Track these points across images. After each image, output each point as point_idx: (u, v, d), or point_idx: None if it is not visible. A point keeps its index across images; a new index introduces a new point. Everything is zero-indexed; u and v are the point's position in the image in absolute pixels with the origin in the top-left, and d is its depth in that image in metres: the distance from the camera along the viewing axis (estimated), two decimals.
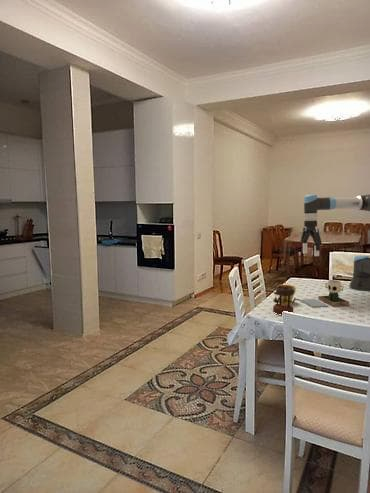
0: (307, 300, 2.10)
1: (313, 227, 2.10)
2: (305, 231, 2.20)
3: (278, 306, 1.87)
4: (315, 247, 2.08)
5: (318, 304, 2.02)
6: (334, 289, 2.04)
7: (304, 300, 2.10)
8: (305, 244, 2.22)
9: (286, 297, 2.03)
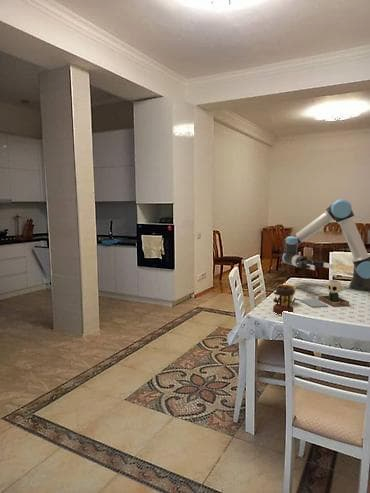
0: (307, 300, 2.10)
1: None
2: None
3: (278, 306, 1.87)
4: (307, 268, 2.17)
5: (318, 304, 2.02)
6: (334, 289, 2.04)
7: (304, 300, 2.10)
8: (324, 264, 2.22)
9: (286, 297, 2.03)
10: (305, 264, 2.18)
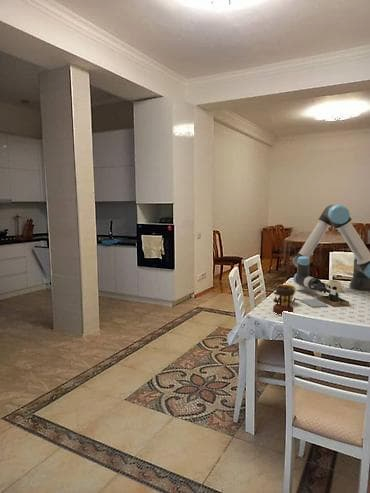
0: (307, 300, 2.10)
1: None
2: None
3: (278, 306, 1.87)
4: (327, 292, 2.06)
5: (318, 304, 2.02)
6: (334, 289, 2.04)
7: (304, 300, 2.10)
8: None
9: (286, 297, 2.03)
10: (325, 288, 2.07)
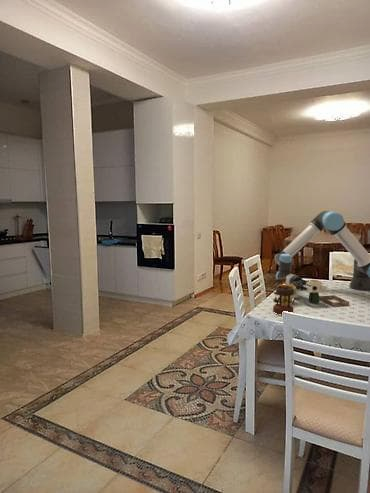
0: (307, 300, 2.10)
1: None
2: None
3: (278, 306, 1.87)
4: (304, 289, 2.03)
5: (318, 304, 2.02)
6: (314, 289, 2.02)
7: (304, 300, 2.10)
8: None
9: (286, 297, 2.03)
10: (302, 285, 2.04)
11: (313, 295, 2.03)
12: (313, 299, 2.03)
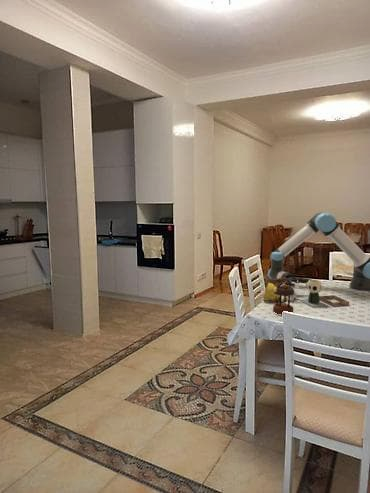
0: (307, 300, 2.10)
1: None
2: None
3: (278, 306, 1.87)
4: (292, 286, 2.11)
5: (318, 304, 2.02)
6: (314, 289, 2.02)
7: (304, 300, 2.10)
8: None
9: None
10: (290, 282, 2.12)
11: (313, 295, 2.03)
12: (313, 299, 2.03)
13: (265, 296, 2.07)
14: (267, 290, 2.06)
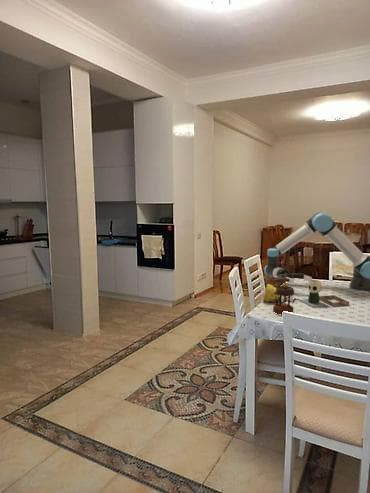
0: (307, 300, 2.10)
1: None
2: None
3: (278, 306, 1.87)
4: None
5: (318, 304, 2.02)
6: (314, 289, 2.02)
7: (304, 300, 2.10)
8: (304, 277, 2.21)
9: (273, 297, 2.04)
10: (285, 277, 2.17)
11: (313, 295, 2.03)
12: (313, 299, 2.03)
13: (264, 300, 2.06)
14: (266, 295, 2.04)
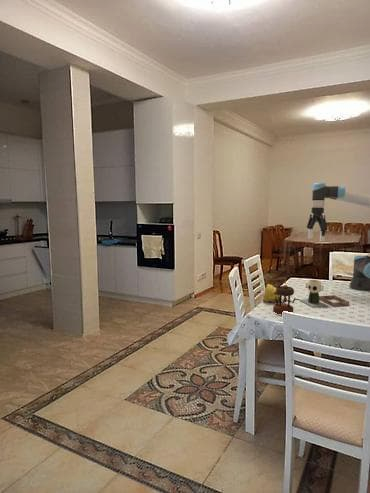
0: (307, 300, 2.10)
1: (320, 214, 2.22)
2: None
3: (278, 306, 1.87)
4: (321, 232, 2.20)
5: (318, 304, 2.02)
6: (314, 289, 2.02)
7: (304, 300, 2.10)
8: (311, 230, 2.34)
9: (273, 297, 2.04)
10: (325, 230, 2.20)
11: (313, 295, 2.03)
12: (313, 299, 2.03)
13: (264, 300, 2.06)
14: (266, 295, 2.04)
